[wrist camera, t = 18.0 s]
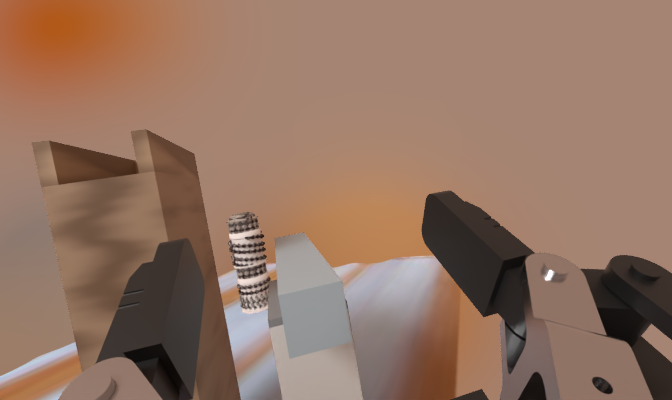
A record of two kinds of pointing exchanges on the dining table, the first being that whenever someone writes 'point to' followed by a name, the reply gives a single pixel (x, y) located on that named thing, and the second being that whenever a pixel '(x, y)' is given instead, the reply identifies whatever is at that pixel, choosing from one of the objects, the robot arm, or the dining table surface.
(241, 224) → the decorative candle
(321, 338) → the bar
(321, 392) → the block
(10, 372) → the dining table surface
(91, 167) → the stand
